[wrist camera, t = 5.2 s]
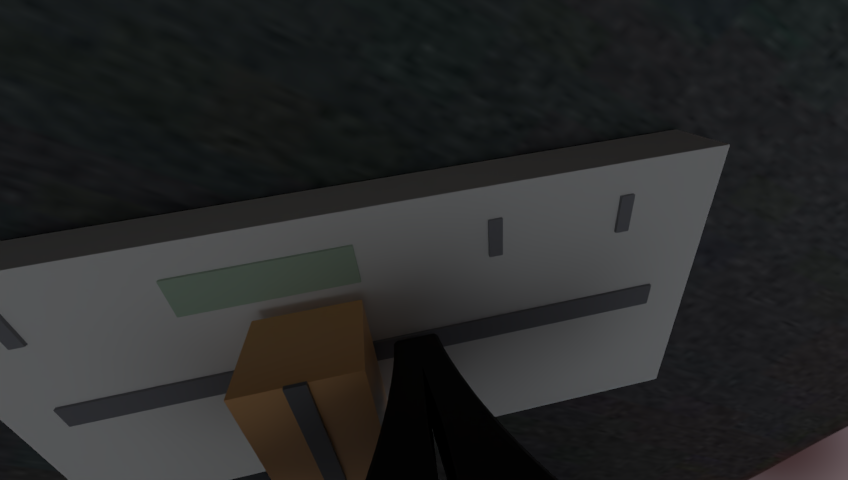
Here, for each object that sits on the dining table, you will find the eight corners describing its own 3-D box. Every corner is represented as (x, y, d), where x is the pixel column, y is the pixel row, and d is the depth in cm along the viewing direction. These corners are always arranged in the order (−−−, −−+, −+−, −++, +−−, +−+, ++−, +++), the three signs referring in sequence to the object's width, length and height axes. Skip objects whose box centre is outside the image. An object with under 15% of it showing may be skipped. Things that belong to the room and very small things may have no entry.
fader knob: (390, 412, 13) (398, 492, 10) (303, 432, 12) (292, 519, 10) (361, 297, 10) (364, 372, 8) (250, 320, 10) (221, 403, 8)
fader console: (625, 344, 17) (657, 380, 15) (131, 455, 15) (101, 513, 13) (675, 129, 12) (733, 145, 10) (-56, 250, 10) (-147, 297, 8)
